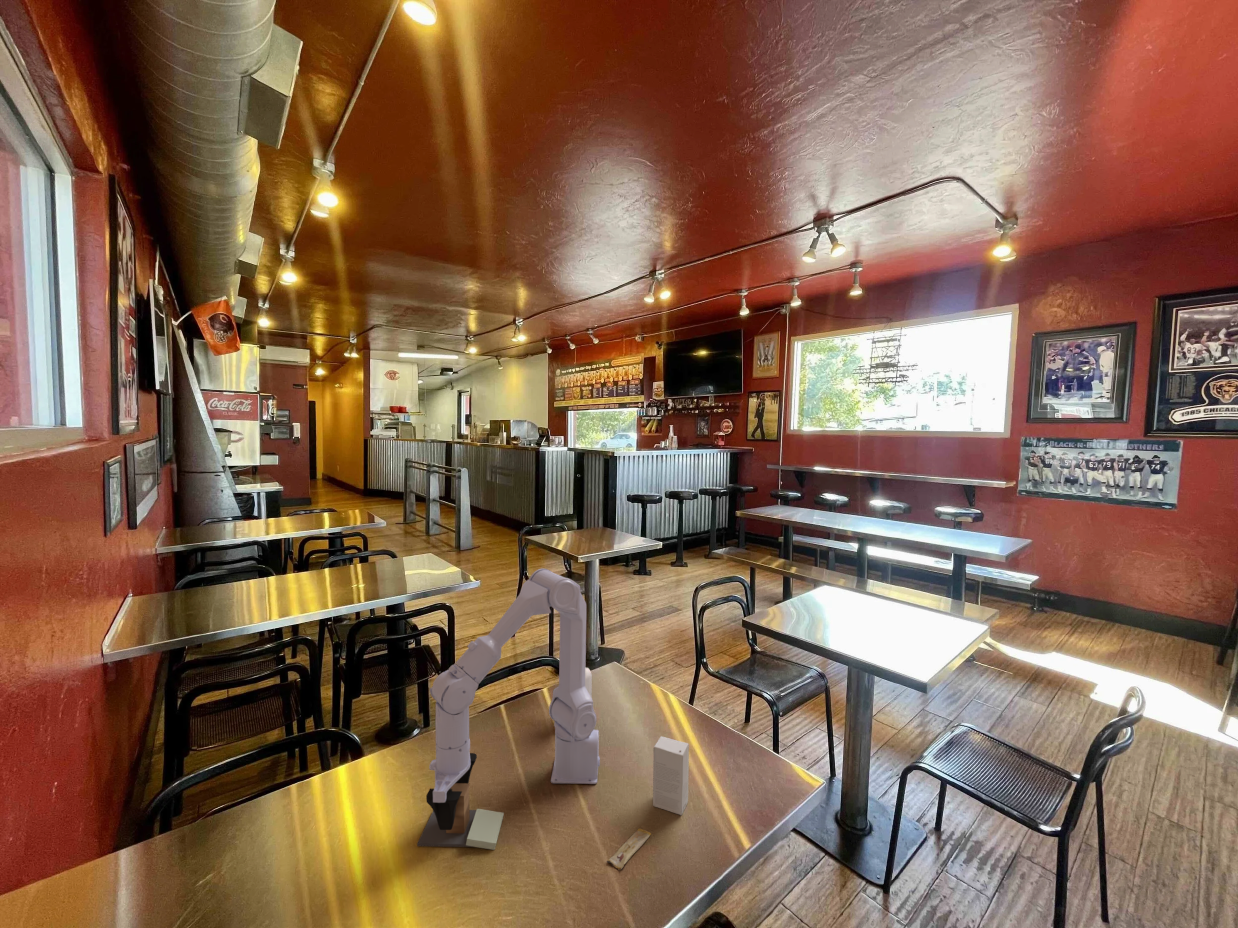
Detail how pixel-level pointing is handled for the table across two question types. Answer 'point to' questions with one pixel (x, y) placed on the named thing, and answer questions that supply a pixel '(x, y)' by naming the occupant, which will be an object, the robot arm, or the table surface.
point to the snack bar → (629, 848)
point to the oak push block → (461, 809)
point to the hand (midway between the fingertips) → (453, 811)
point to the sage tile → (485, 829)
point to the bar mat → (444, 834)
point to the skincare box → (670, 775)
